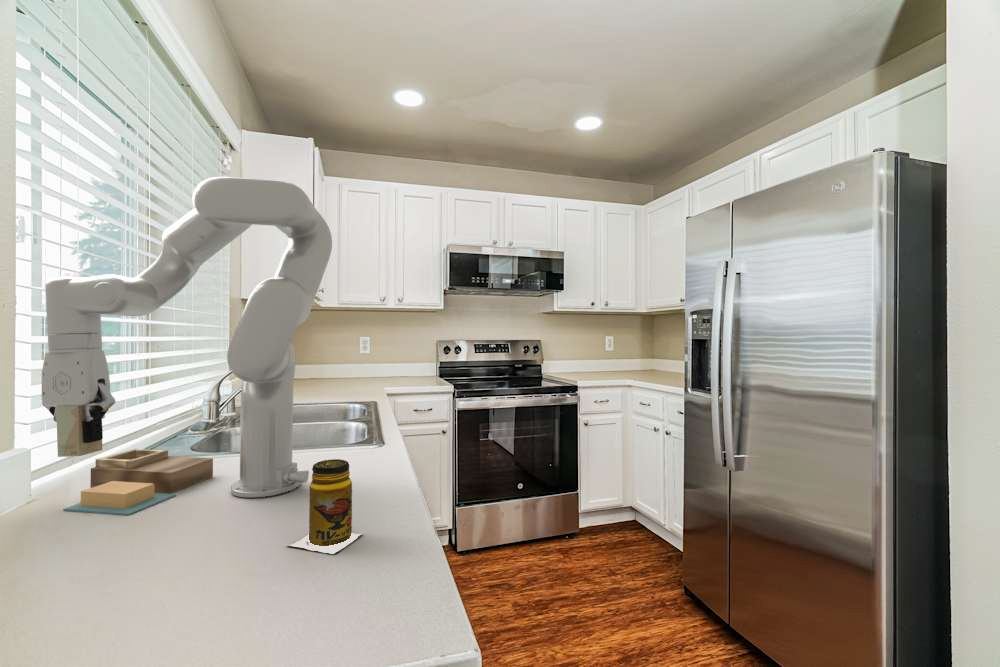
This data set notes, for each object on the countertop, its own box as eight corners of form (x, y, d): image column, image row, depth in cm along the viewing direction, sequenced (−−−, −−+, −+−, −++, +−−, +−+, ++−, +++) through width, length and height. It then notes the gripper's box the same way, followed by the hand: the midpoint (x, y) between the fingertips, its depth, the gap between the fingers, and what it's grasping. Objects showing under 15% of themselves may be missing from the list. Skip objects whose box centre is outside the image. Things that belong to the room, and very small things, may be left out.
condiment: (334, 556, 68) (335, 471, 68) (285, 547, 70) (286, 465, 70) (364, 535, 75) (365, 458, 75) (318, 528, 77) (319, 454, 77)
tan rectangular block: (125, 494, 84) (125, 508, 84) (154, 483, 90) (154, 496, 90) (80, 491, 85) (80, 505, 85) (112, 481, 91) (112, 494, 91)
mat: (176, 495, 92) (176, 494, 92) (128, 515, 82) (128, 513, 82) (116, 491, 93) (116, 490, 93) (63, 510, 83) (63, 508, 83)
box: (79, 457, 87) (76, 396, 86) (56, 457, 87) (53, 396, 87) (104, 449, 92) (101, 392, 92) (82, 450, 92) (79, 392, 92)
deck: (212, 476, 104) (213, 451, 104) (171, 493, 93) (171, 465, 93) (139, 472, 106) (139, 447, 106) (90, 488, 95) (90, 460, 95)
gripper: (14, 346, 86) (19, 446, 87) (95, 343, 84) (100, 446, 84) (57, 344, 94) (62, 437, 94) (134, 341, 92) (138, 436, 92)
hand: (80, 440), depth 89 cm, fingers closed on box, 4 cm apart
